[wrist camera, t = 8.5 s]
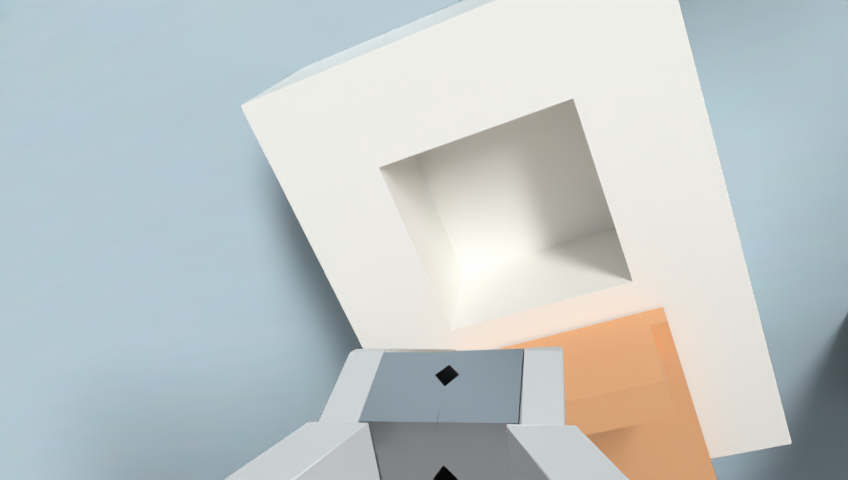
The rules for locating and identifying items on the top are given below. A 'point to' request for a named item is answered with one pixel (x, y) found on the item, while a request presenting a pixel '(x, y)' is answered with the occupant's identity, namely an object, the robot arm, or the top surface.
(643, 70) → the socket
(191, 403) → the top surface
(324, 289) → the top surface
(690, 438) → the shutter
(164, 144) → the top surface
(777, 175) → the top surface
